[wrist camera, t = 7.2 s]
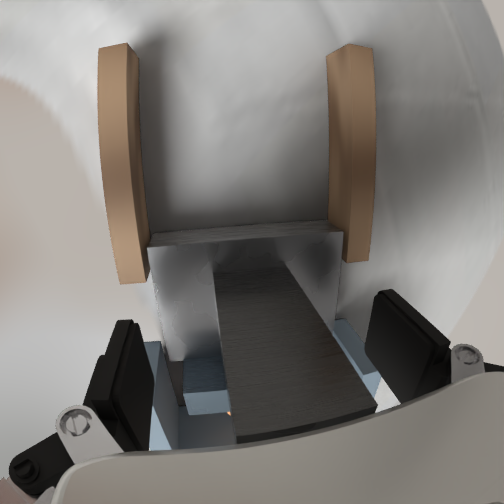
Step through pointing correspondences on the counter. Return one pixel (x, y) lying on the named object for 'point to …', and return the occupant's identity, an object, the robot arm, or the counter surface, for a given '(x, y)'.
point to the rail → (340, 154)
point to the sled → (258, 326)
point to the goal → (219, 424)
